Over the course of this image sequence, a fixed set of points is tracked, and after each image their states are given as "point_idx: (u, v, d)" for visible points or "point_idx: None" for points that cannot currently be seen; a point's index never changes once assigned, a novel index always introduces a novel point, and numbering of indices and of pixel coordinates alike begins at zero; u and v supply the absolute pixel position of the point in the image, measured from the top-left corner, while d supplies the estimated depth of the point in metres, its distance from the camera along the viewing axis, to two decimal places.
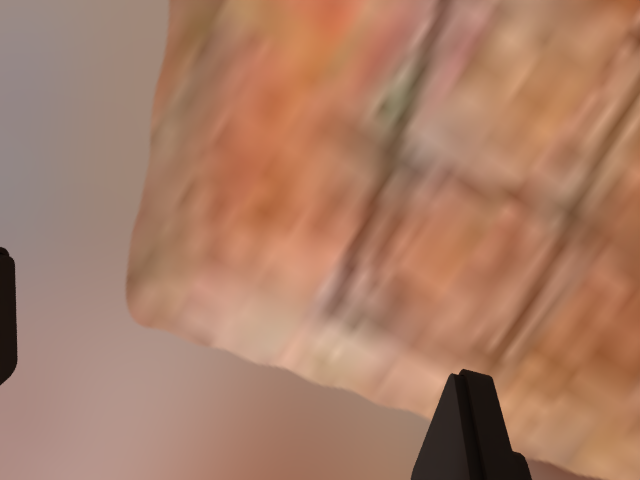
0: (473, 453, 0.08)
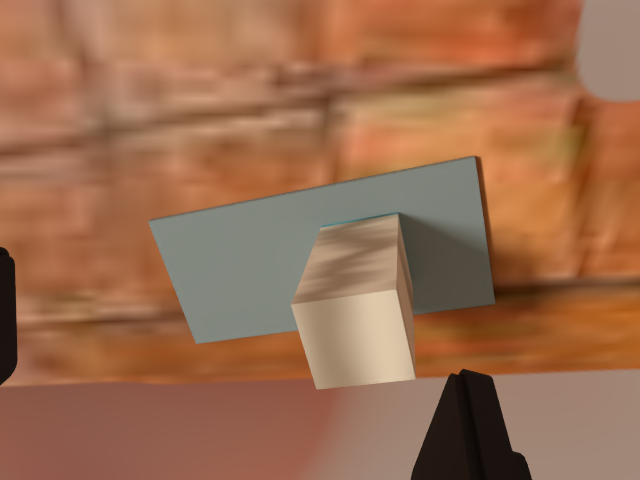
0: (473, 453, 0.08)
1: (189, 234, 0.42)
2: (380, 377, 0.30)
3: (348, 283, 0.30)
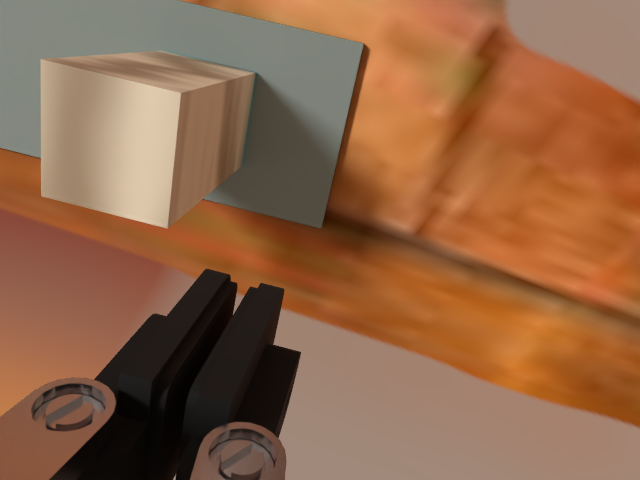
0: (226, 336, 0.09)
1: None
2: (125, 209, 0.23)
3: (132, 74, 0.22)
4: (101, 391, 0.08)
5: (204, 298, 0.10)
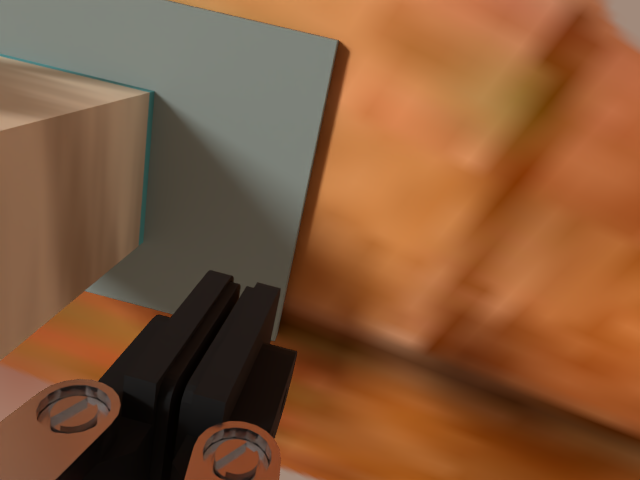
0: (222, 335, 0.09)
1: None
2: None
3: None
4: (105, 393, 0.08)
5: (208, 299, 0.10)
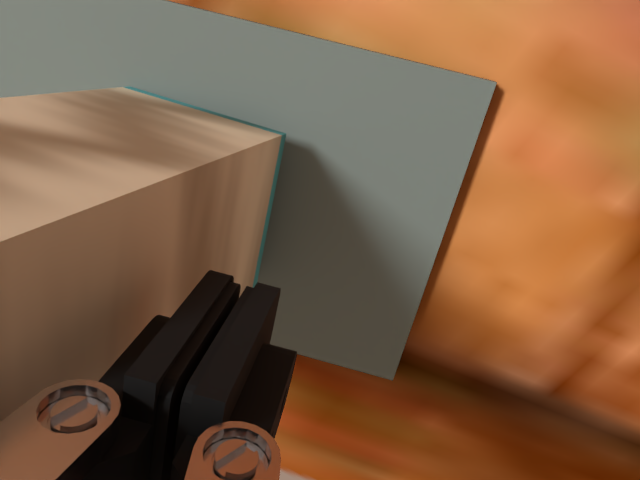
0: (222, 335, 0.09)
1: None
2: None
3: None
4: (105, 393, 0.08)
5: (208, 299, 0.10)
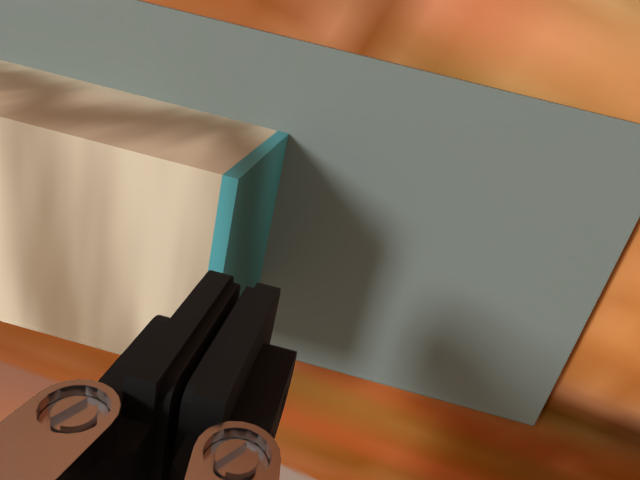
0: (222, 335, 0.09)
1: None
2: None
3: None
4: (105, 393, 0.08)
5: (208, 299, 0.10)
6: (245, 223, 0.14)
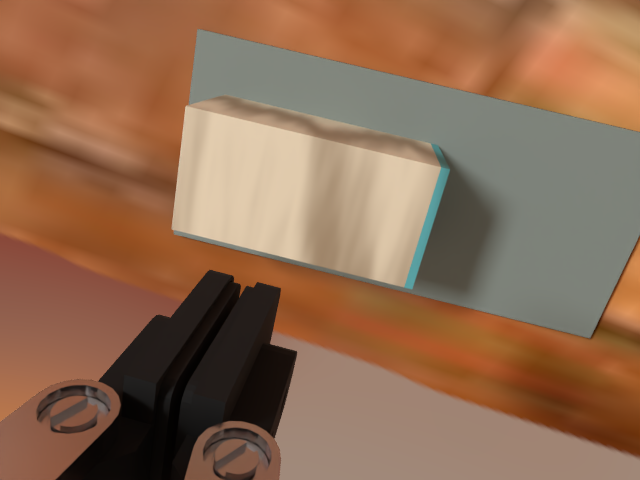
0: (222, 335, 0.09)
1: (249, 75, 0.28)
2: None
3: (235, 107, 0.25)
4: (106, 393, 0.08)
5: (208, 299, 0.10)
6: None
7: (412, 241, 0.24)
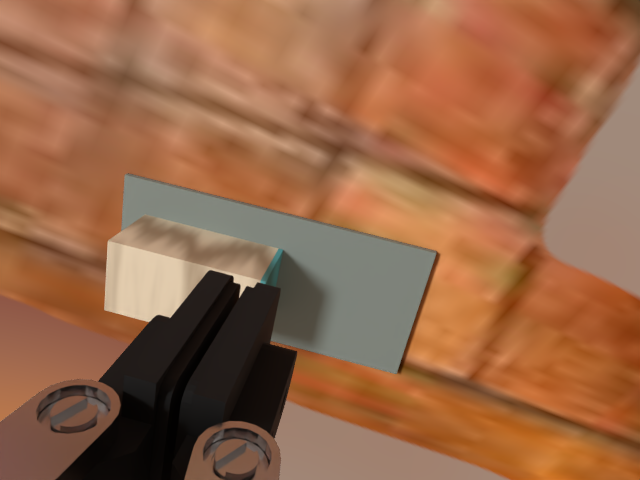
0: (222, 335, 0.09)
1: (159, 203, 0.43)
2: None
3: (145, 232, 0.40)
4: (105, 393, 0.08)
5: (207, 299, 0.10)
6: None
7: None
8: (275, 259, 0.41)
